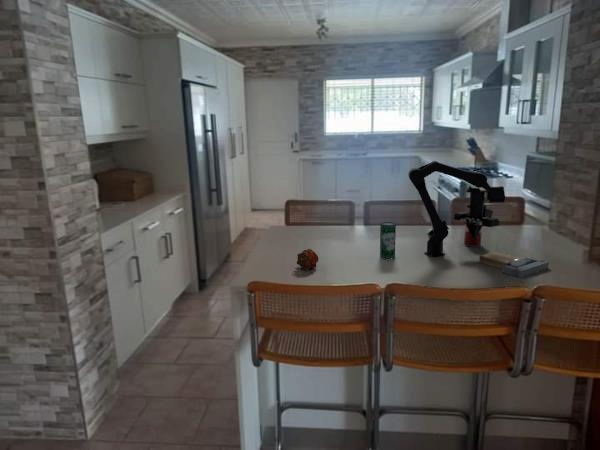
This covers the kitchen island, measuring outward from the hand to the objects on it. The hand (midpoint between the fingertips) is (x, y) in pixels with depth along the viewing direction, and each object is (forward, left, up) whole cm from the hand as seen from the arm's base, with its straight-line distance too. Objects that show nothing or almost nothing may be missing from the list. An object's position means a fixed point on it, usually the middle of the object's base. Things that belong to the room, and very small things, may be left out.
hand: (474, 238), depth 190 cm
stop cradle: (0, -24, -7) cm, 25 cm away
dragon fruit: (-66, +29, -8) cm, 72 cm away
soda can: (+13, +11, -8) cm, 18 cm away
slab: (0, -13, -8) cm, 15 cm away
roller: (0, -21, -8) cm, 22 cm away
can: (-31, +20, -8) cm, 37 cm away
